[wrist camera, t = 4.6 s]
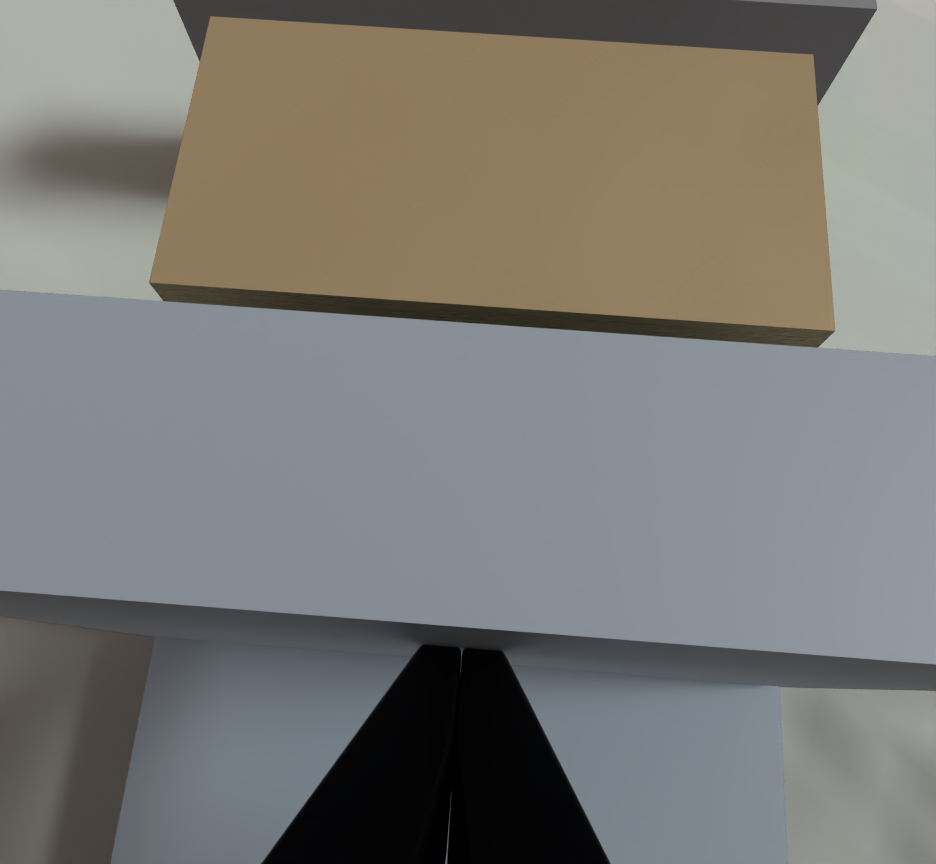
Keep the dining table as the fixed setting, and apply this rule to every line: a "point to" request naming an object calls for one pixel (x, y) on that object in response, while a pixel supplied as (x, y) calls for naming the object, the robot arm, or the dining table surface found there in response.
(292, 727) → the plate
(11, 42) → the dining table surface
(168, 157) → the dining table surface
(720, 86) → the brass block
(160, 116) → the dining table surface
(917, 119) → the dining table surface
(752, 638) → the sliding jaw
